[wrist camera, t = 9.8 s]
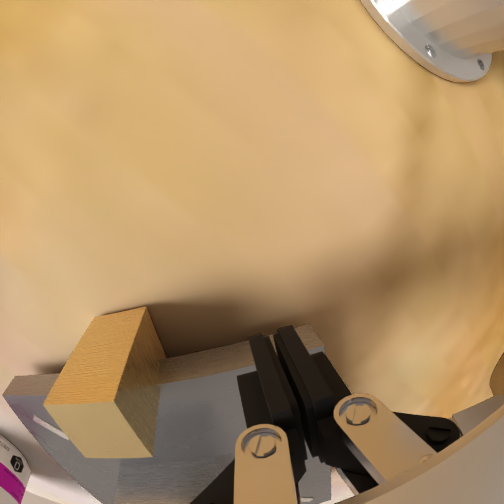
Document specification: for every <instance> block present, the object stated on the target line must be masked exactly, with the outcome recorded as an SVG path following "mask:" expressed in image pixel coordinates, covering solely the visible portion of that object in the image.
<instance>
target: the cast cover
mask: <svg viewBox="0 0 504 504" xmlns="http://www.w3.org/2000/svg"><path fill="white" fill-rule="evenodd" d="M222 471H223V470H222V468H221V466H220V465H219V463H218V462H217V460H216V458H215V457H208V458H201V459H194V460H186V461H177V462H166V463H153V464H130V465H120V469H119V475H118V481H117V487H116V494H115V501H114V504H190V503H191V502H192V501H193V500H194V499H195V498H196V497H197V496H198V495H199V494H200V493H201V492H202V491H203V490H204V489H205V488H206V487H207V486H208V485H209V484H210V483H211V482H212V481H213V480H214V479H215V478H216V477H217V476H218V475H219V474H220V473H221V472H222Z"/></svg>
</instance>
